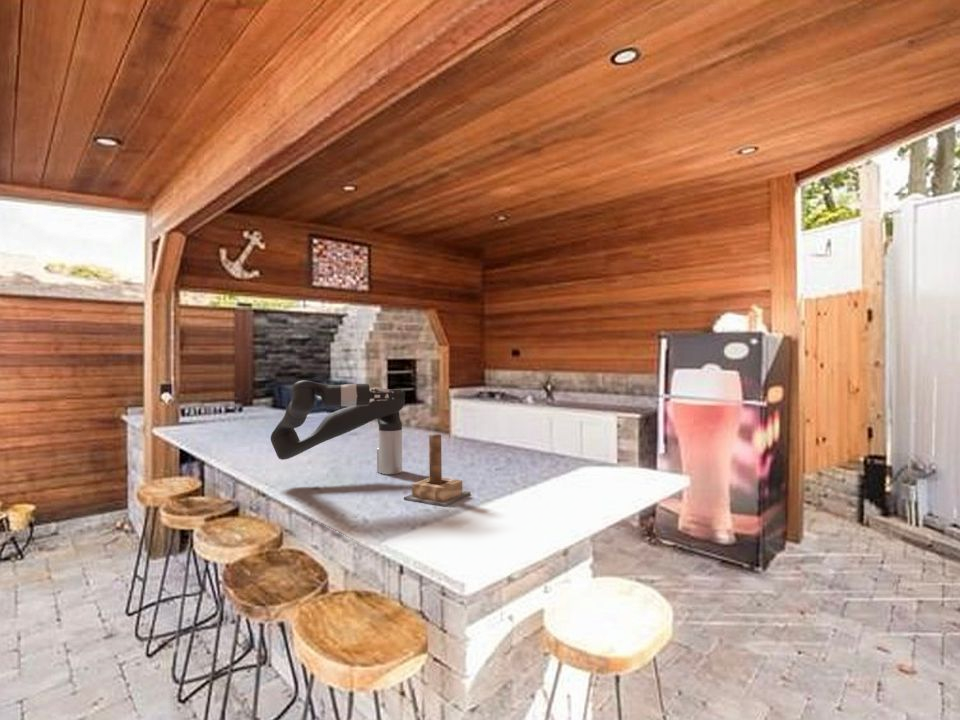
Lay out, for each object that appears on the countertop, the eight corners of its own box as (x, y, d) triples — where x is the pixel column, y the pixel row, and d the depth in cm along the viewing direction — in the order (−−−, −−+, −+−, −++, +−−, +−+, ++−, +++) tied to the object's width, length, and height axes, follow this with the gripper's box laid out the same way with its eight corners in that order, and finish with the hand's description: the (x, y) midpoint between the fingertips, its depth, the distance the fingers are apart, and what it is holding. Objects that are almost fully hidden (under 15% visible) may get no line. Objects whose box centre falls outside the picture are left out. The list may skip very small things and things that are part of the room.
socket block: (403, 499, 177) (403, 484, 177) (431, 488, 191) (431, 474, 191) (445, 506, 169) (445, 490, 169) (470, 494, 183) (470, 479, 183)
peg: (427, 495, 179) (426, 435, 179) (434, 492, 183) (433, 433, 182) (437, 497, 177) (436, 436, 177) (444, 494, 181) (443, 434, 180)
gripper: (353, 404, 188) (400, 402, 192) (356, 408, 174) (406, 406, 179) (353, 382, 188) (400, 381, 192) (356, 385, 174) (406, 384, 179)
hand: (403, 393), depth 186 cm, fingers open, 8 cm apart
